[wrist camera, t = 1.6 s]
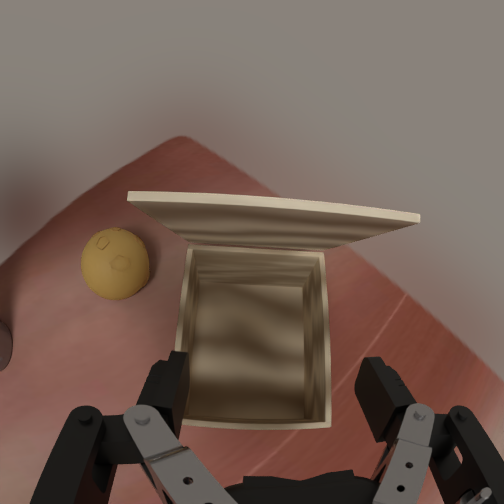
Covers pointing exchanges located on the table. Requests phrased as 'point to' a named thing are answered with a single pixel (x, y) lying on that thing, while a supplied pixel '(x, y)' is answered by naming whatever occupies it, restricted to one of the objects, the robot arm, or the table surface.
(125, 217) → the table surface
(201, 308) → the carton
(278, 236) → the lid flap
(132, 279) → the stress ball
